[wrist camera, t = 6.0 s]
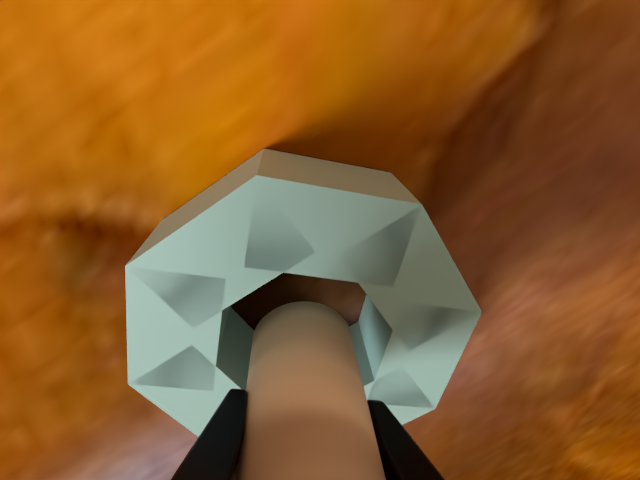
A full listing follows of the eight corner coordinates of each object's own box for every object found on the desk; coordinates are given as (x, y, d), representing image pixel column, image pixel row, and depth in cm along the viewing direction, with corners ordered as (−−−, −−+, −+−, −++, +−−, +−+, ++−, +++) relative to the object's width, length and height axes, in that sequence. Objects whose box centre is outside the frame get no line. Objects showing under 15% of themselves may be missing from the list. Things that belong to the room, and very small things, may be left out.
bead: (389, 397, 16) (409, 462, 14) (158, 377, 15) (129, 447, 12) (472, 188, 12) (525, 222, 10) (164, 129, 11) (123, 151, 8)
